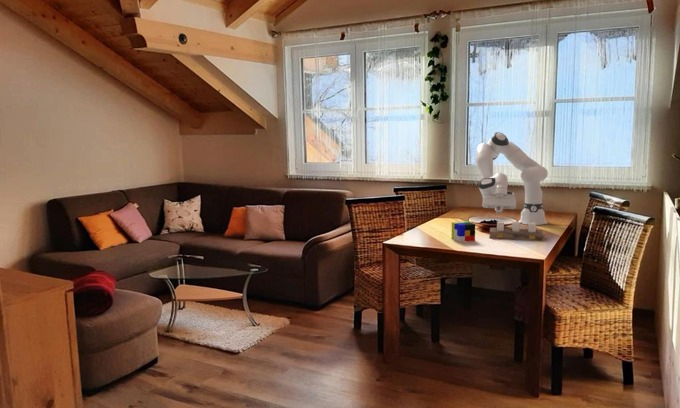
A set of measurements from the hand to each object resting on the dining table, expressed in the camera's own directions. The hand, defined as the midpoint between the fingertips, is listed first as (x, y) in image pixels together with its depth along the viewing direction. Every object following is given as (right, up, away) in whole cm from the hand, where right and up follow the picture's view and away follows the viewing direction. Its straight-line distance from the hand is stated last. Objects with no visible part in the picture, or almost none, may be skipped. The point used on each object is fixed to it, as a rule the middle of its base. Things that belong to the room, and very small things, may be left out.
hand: (498, 213), depth 316 cm
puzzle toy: (-24, -16, -10) cm, 31 cm away
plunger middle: (+9, -12, -6) cm, 16 cm away
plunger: (+17, -12, -9) cm, 23 cm away
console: (+9, -15, -6) cm, 18 cm away
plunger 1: (0, -11, -3) cm, 12 cm away
